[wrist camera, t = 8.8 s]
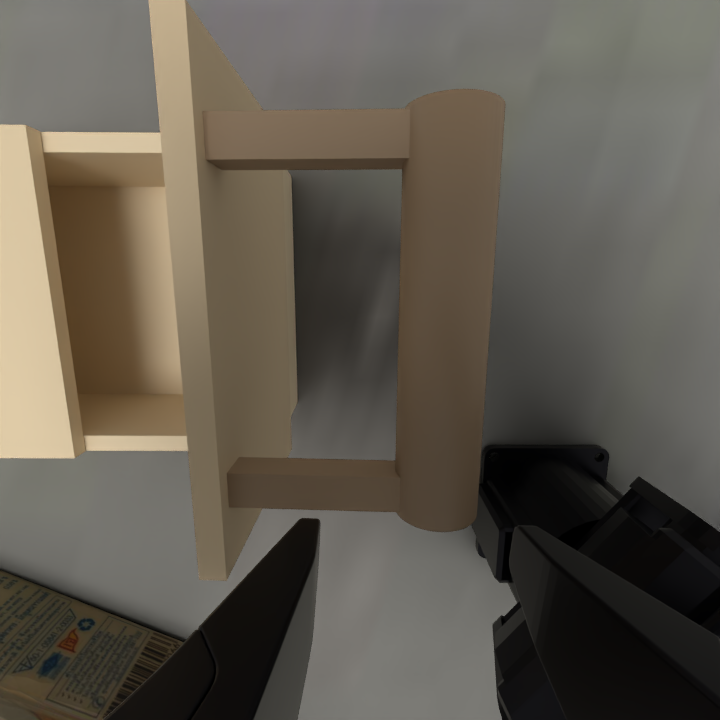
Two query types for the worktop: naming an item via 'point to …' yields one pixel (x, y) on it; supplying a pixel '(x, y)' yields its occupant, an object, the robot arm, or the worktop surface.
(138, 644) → the beverage carton
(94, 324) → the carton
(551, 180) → the worktop surface
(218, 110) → the cabinet door with handle
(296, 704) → the robot arm
